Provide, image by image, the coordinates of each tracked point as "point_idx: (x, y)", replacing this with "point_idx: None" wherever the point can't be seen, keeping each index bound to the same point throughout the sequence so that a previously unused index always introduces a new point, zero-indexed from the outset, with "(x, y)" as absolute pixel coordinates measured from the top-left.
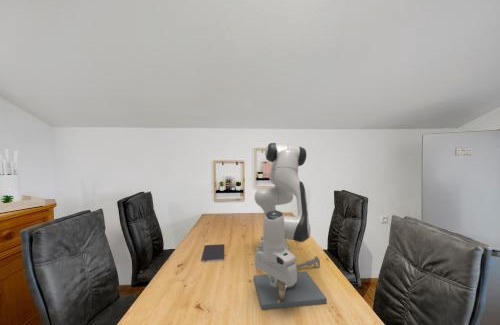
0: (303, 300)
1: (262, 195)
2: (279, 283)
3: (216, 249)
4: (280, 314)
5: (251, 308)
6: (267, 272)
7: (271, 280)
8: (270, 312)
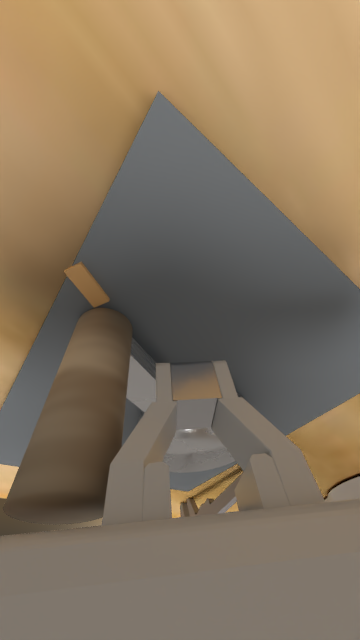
0: (10, 397)
1: None
2: (60, 449)
3: None
4: (5, 203)
5: (259, 4)
6: (356, 552)
7: (227, 413)
8: (73, 148)
